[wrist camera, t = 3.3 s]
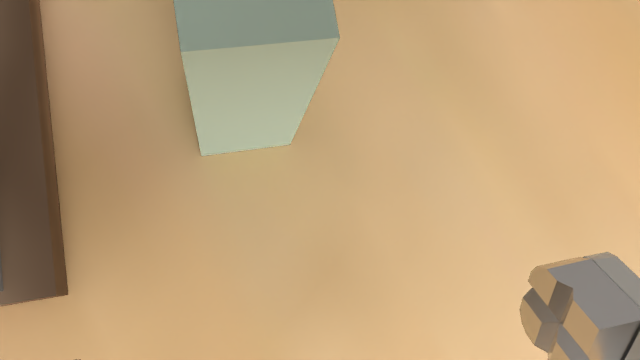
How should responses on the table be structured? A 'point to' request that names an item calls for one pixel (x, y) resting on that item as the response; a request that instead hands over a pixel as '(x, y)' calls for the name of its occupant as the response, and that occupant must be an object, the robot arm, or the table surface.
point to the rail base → (27, 164)
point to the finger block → (252, 67)
